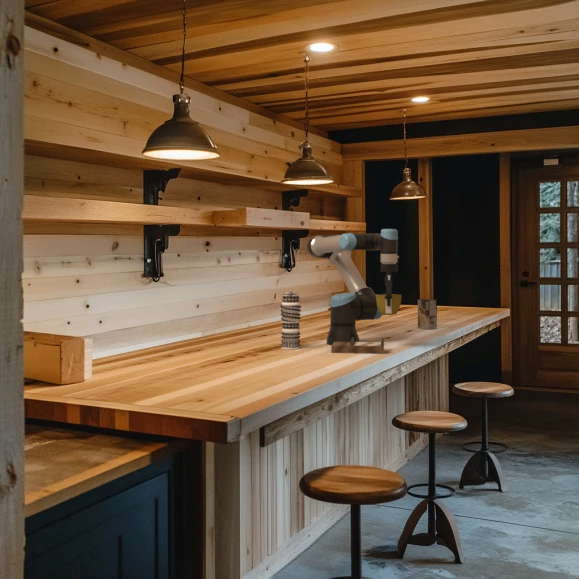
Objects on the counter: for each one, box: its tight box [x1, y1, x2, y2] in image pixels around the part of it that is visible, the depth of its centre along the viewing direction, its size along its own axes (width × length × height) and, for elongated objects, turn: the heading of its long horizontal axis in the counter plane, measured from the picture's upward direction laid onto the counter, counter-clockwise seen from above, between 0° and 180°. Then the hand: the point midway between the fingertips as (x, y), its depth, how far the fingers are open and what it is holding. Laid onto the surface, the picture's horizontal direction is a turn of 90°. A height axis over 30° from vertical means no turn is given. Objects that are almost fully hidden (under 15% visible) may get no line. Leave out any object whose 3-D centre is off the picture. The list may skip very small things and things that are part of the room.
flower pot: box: [375, 293, 402, 316], centre depth 332 cm, size 9×9×9 cm
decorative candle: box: [280, 291, 302, 350], centre depth 327 cm, size 9×9×25 cm
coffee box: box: [417, 298, 438, 330], centre depth 407 cm, size 9×6×16 cm
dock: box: [330, 337, 385, 355], centre depth 319 cm, size 22×14×5 cm, turn 82°
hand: (388, 312), depth 332 cm, fingers closed on flower pot, 11 cm apart
